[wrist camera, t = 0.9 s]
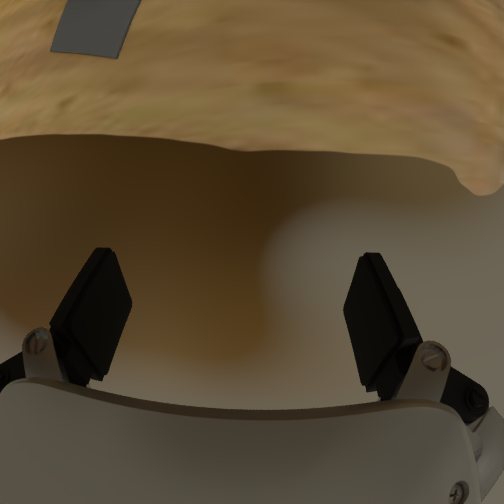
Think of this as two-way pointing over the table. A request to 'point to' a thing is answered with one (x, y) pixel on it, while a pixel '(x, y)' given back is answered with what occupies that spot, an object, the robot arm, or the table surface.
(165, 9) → the table surface
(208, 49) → the table surface
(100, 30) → the mat
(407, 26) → the table surface
